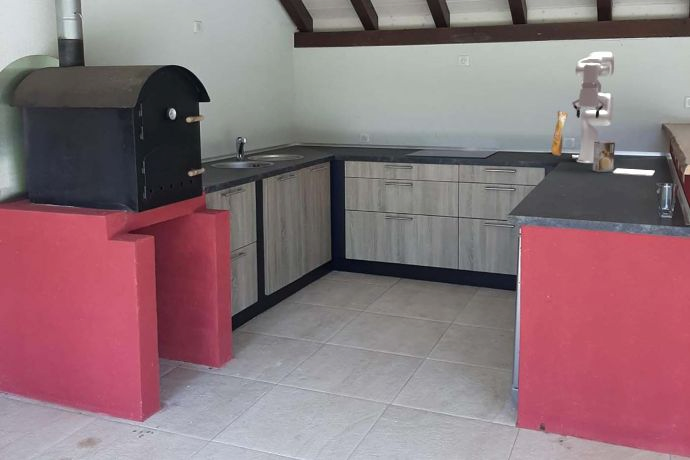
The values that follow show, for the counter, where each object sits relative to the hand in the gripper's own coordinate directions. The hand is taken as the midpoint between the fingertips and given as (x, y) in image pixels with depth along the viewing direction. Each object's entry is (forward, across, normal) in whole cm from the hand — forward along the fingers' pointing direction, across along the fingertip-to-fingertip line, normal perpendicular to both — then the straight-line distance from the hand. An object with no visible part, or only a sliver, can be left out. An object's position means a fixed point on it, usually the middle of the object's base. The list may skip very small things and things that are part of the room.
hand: (587, 117), depth 403 cm
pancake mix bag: (+28, -28, +71) cm, 82 cm away
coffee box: (+29, +10, 0) cm, 31 cm away
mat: (+29, +26, 0) cm, 39 cm away
